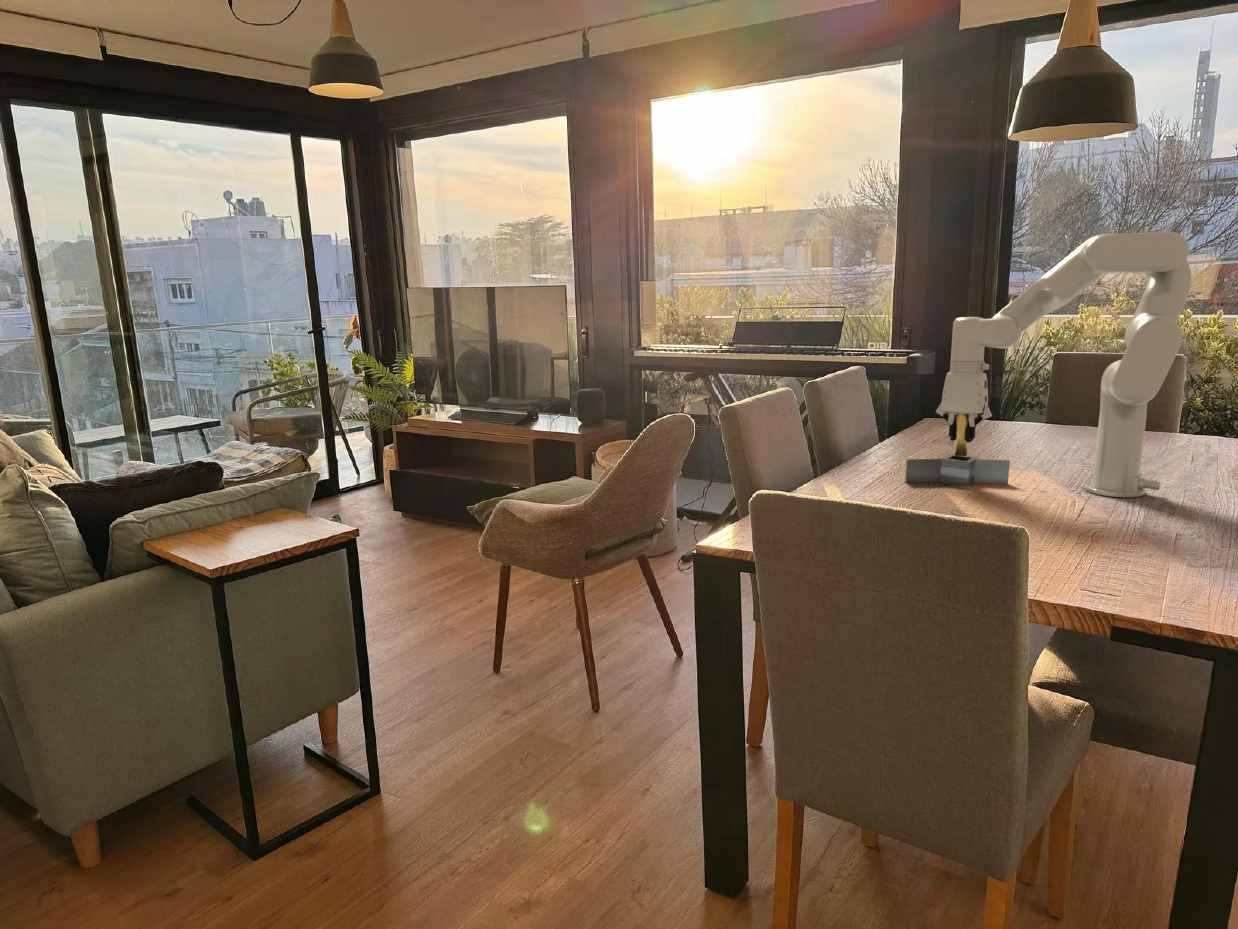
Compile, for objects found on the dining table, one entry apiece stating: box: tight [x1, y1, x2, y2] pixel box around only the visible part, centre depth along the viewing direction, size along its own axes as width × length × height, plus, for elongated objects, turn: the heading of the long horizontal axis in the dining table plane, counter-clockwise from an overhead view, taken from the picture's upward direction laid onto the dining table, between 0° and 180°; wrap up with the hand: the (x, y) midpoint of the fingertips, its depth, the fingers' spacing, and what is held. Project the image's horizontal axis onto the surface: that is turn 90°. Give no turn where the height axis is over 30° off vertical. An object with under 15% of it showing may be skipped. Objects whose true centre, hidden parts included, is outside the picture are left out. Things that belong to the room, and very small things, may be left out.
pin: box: [953, 413, 969, 456], centre depth 211 cm, size 3×3×12 cm
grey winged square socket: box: [904, 453, 1011, 487], centre depth 211 cm, size 21×13×6 cm, turn 51°
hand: (961, 440), depth 211 cm, fingers closed on pin, 3 cm apart
